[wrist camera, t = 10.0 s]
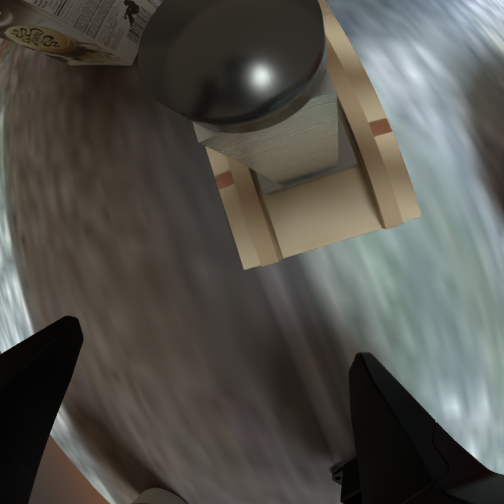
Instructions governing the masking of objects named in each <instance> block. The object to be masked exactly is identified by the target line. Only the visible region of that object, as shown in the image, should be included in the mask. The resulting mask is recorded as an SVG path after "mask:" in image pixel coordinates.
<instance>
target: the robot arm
mask: <svg viewBox="0 0 504 504" xmlns="http://www.w3.org/2000/svg"><path fill="white" fill-rule="evenodd" d="M82 343H83V334H82V330H81V327H80V323H79V320H78V319H77V318H76V317H72V316H64V317H63V318H61V319H59V320H57V321H56V322H54V323H52V324H51V325H49V326H47V327H45V328H44V329H42V330H40V331H39V332H37V333H35V334H34V335H32V336H30V337H28V338H27V339H25V340H23V341H22V342H20V343H18V344H17V345H15V346H13V347H12V348H10V349H8V350H7V351H5V352H4V353H2V354H0V504H28V503H29V499H30V495H31V491H32V488H33V485H34V481H35V477H36V474H37V471H38V467H39V464H40V461H41V458H42V455H43V452H44V449H45V446H46V443H47V440H48V437H49V435H50V432H51V429H52V426H53V424H54V421H55V418H56V416H57V413H58V411H59V408H60V405H61V403H62V400H63V398H64V395H65V393H66V391H67V388H68V386H69V383H70V381H71V378H72V375H73V372H74V368H75V365H76V362H77V359H78V356H79V353H80V349H81V346H82ZM349 390H350V411H351V421H352V427H353V434H354V440H355V447H356V454H357V457H355V458H354V459H353V460H351V461H350V462H348V463H347V464H345V465H344V466H343V467H342V468H341V469H339V470H338V471H336V472H335V473H333V475H332V480H333V481H335V482H336V483H338V484H340V485H342V488H341V499H340V501H341V503H343V504H504V475H502V474H498V473H495V472H493V471H491V470H489V469H487V468H486V467H485V466H484V465H482V464H481V463H480V462H479V461H478V460H477V459H475V458H474V457H473V456H472V455H471V454H470V453H469V452H467V451H466V450H465V449H464V448H463V447H462V446H461V445H459V444H458V443H457V442H456V441H455V440H454V439H453V438H452V437H451V436H450V435H449V434H448V433H447V432H446V431H445V430H444V429H443V428H442V427H441V426H440V425H439V424H438V423H437V422H436V421H435V420H434V419H433V418H432V416H431V415H430V414H429V413H428V412H427V411H426V410H425V409H424V408H423V407H422V406H421V405H420V404H419V403H418V402H417V401H416V400H415V399H414V398H413V396H412V395H411V394H410V393H409V392H408V391H407V390H406V389H405V388H404V387H403V386H402V385H401V384H400V383H399V382H398V381H397V380H396V379H395V378H394V377H393V376H392V375H391V374H390V372H389V371H388V370H387V369H386V368H385V367H384V366H383V365H382V364H381V363H380V362H379V361H378V360H377V359H376V358H375V357H374V356H373V355H372V354H371V353H369V352H359V353H357V354H356V356H355V358H354V361H353V363H352V365H351V367H350V370H349ZM435 422H436V423H435ZM338 476H339V477H338Z"/></svg>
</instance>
